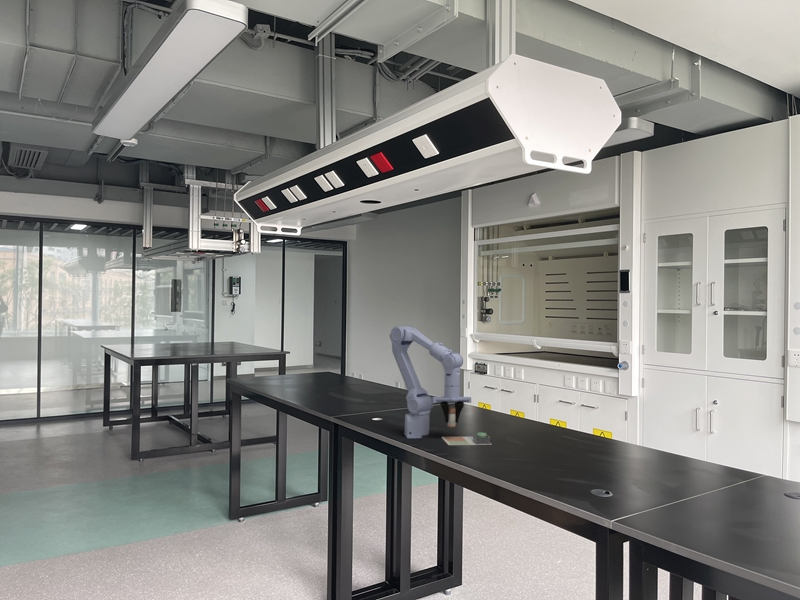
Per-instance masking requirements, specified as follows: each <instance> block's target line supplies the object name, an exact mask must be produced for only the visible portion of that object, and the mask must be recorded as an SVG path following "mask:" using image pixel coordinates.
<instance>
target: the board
mask: <svg viewBox="0 0 800 600" xmlns="http://www.w3.org/2000/svg"><path fill="white" fill-rule="evenodd" d="M441 439H442V440H443V441H444V442H445V443H446V444H447V446H476V445H477V446H478V445H479V446H482V445H484V446H486V445H488V446H491V445H493V444H492V443H491V442H490V444H476V443H475V442H474V441H473V436H441Z"/></svg>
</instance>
